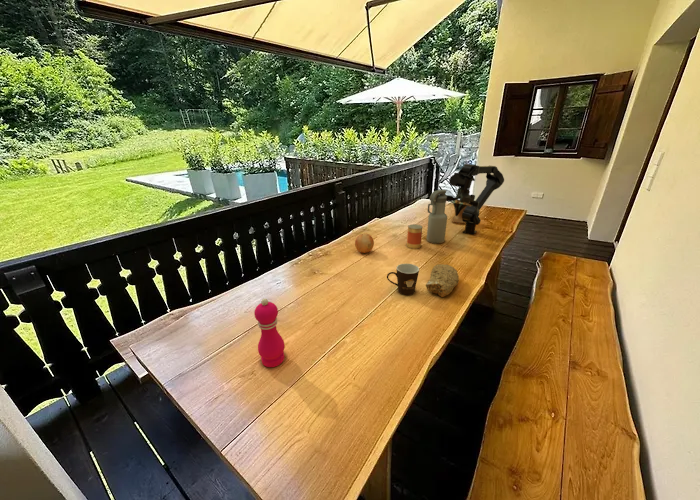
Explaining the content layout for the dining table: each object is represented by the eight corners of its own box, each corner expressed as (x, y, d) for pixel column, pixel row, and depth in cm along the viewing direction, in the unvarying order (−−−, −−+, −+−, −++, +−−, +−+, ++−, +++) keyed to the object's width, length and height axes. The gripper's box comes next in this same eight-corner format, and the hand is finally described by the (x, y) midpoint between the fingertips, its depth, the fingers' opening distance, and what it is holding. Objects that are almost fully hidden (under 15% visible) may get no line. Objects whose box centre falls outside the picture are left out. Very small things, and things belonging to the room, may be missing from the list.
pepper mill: (262, 351, 88) (253, 292, 80) (287, 349, 89) (280, 290, 81) (257, 369, 81) (246, 307, 74) (284, 367, 82) (276, 305, 74)
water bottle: (434, 245, 161) (439, 193, 150) (422, 239, 169) (426, 190, 158) (448, 241, 165) (454, 191, 154) (436, 236, 173) (440, 188, 162)
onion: (364, 257, 148) (364, 238, 144) (350, 251, 155) (350, 233, 151) (377, 252, 154) (378, 233, 150) (364, 246, 161) (364, 229, 157)
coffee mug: (418, 287, 120) (420, 265, 117) (415, 298, 113) (417, 274, 109) (390, 283, 124) (391, 261, 120) (385, 293, 117) (386, 270, 113)
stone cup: (468, 225, 190) (471, 202, 184) (449, 223, 196) (452, 200, 190) (473, 219, 202) (476, 197, 196) (455, 217, 208) (457, 195, 202)
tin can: (410, 242, 166) (411, 223, 161) (423, 245, 161) (424, 225, 157) (404, 246, 160) (405, 227, 156) (417, 249, 156) (418, 229, 152)
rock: (450, 303, 112) (468, 273, 124) (447, 286, 108) (466, 257, 121) (418, 297, 120) (438, 270, 133) (414, 281, 117) (435, 255, 130)
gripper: (452, 185, 155) (444, 215, 160) (487, 192, 156) (477, 221, 160) (446, 184, 166) (438, 211, 170) (478, 190, 167) (470, 218, 171)
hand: (456, 215), depth 168 cm, fingers closed
